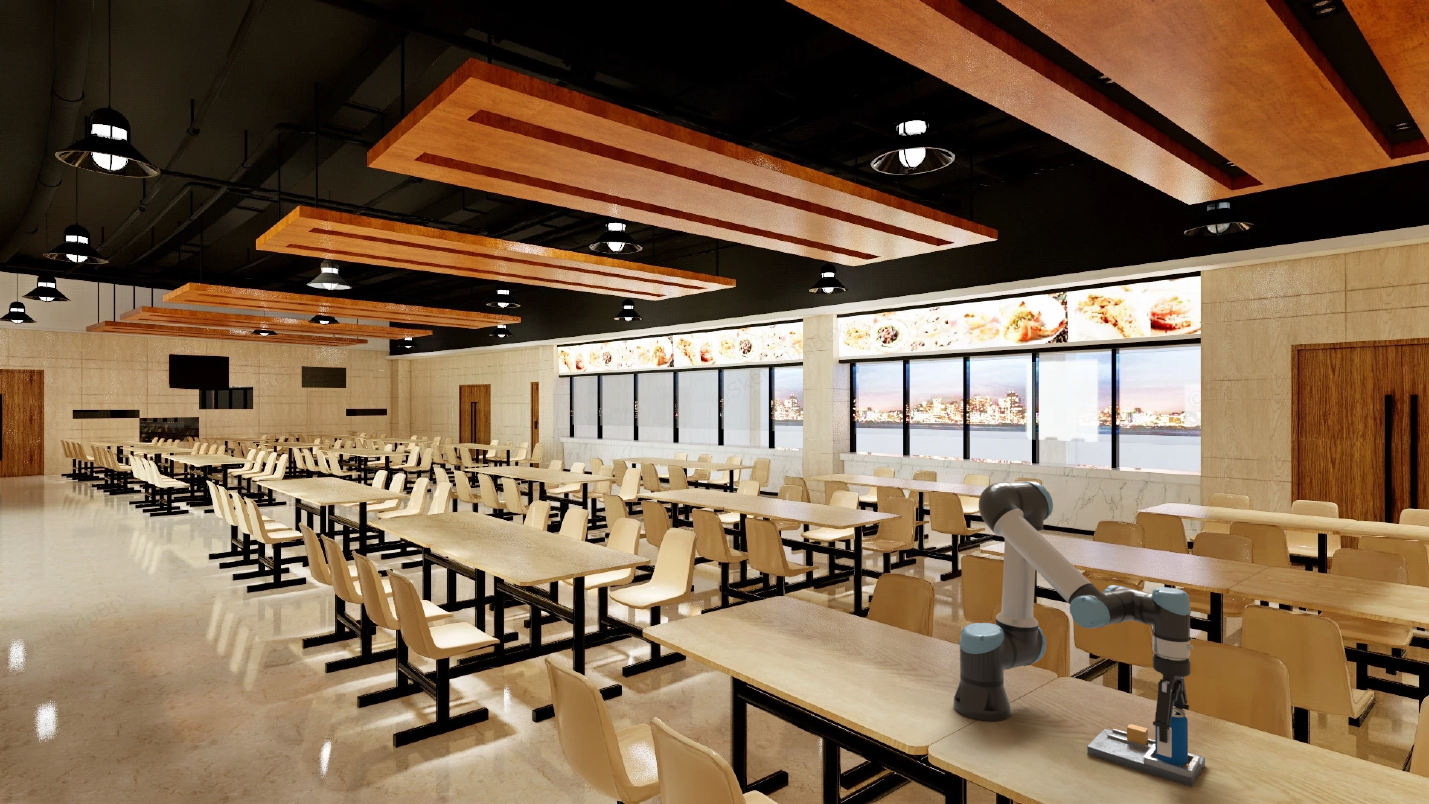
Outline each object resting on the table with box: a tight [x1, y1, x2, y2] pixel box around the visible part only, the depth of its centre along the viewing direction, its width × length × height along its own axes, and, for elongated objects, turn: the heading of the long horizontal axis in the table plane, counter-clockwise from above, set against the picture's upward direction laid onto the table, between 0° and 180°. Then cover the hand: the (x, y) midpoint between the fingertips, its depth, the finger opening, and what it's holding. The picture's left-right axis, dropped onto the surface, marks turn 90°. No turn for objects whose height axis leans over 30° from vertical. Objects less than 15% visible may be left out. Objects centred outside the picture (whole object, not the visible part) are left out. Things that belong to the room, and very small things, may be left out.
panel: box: [1086, 728, 1206, 788], centre depth 175 cm, size 22×14×4 cm, turn 46°
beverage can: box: [1154, 708, 1189, 767], centre depth 169 cm, size 6×6×12 cm
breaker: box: [1126, 723, 1149, 745], centre depth 180 cm, size 4×3×3 cm
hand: (1171, 745), depth 169 cm, fingers open, 13 cm apart
